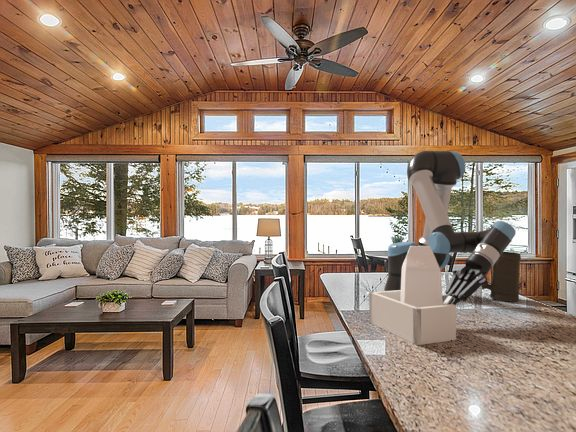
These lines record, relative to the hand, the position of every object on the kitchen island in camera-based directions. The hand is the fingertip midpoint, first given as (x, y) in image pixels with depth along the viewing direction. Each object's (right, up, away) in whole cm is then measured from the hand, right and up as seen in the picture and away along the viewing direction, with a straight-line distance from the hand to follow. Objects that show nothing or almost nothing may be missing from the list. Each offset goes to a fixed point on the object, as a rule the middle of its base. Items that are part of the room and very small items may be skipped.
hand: (441, 314), depth 127 cm
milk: (-7, -4, -1) cm, 8 cm away
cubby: (-12, -4, -4) cm, 13 cm away
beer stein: (+40, -4, +39) cm, 56 cm away
